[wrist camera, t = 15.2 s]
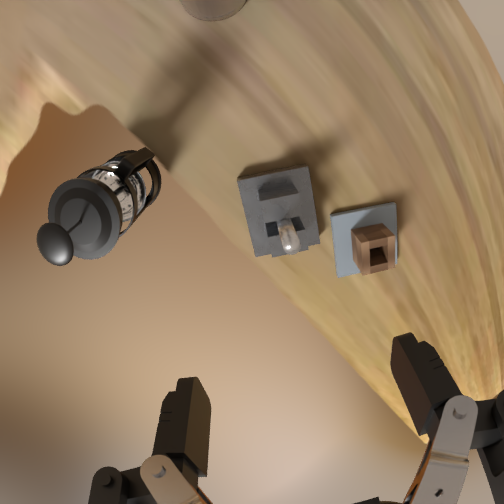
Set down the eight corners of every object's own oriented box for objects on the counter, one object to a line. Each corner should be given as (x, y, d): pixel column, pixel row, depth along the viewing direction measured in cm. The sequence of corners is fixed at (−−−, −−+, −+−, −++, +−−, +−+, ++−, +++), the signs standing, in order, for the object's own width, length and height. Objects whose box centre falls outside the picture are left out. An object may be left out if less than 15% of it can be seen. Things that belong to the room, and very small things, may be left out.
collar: (350, 229, 47) (361, 243, 43) (382, 222, 47) (395, 235, 42) (353, 260, 50) (362, 275, 45) (383, 253, 49) (395, 267, 45)
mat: (329, 214, 47) (331, 216, 46) (393, 202, 46) (396, 203, 45) (336, 274, 52) (338, 277, 51) (394, 261, 51) (397, 263, 50)
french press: (136, 224, 47) (72, 313, 26) (92, 189, 44) (3, 256, 23) (181, 166, 43) (126, 225, 23) (132, 128, 40) (42, 156, 20)
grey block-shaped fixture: (237, 177, 44) (235, 205, 33) (305, 163, 43) (328, 186, 32) (255, 251, 49) (259, 298, 38) (317, 238, 49) (339, 281, 37)
